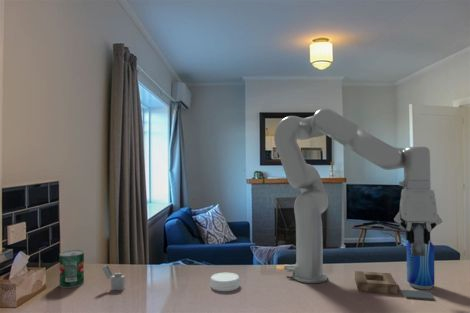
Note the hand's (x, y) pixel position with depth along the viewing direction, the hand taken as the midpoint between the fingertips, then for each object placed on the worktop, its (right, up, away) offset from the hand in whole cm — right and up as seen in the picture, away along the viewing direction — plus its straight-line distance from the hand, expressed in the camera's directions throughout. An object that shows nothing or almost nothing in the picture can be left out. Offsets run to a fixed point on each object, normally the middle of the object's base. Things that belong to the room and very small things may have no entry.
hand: (418, 242), depth 114 cm
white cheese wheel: (-62, -18, +9) cm, 65 cm away
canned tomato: (-115, -18, +12) cm, 117 cm away
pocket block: (-10, -17, +9) cm, 22 cm away
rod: (0, -4, 0) cm, 4 cm away
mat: (0, -17, 0) cm, 17 cm away
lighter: (-99, -18, +7) cm, 101 cm away
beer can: (+5, -17, +9) cm, 20 cm away
